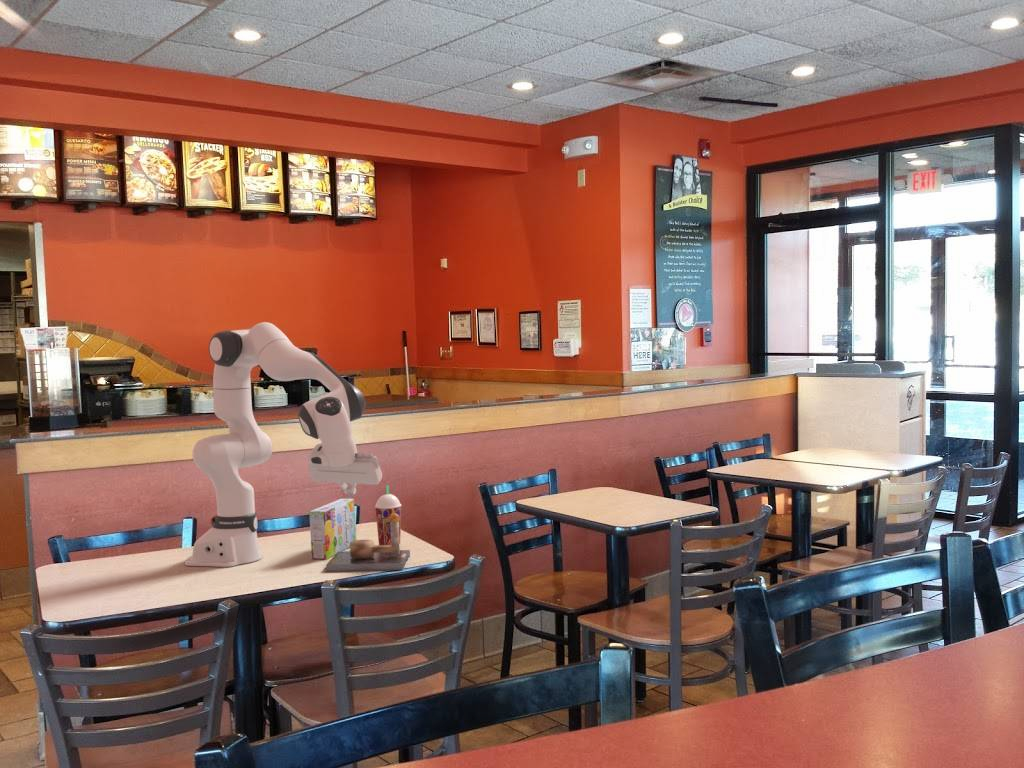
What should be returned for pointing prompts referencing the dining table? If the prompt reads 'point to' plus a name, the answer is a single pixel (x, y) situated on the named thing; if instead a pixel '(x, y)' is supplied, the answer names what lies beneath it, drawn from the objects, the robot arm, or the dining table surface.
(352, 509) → the snack box
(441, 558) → the dining table surface
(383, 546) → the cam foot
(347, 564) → the stand plate
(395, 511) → the smoothie
